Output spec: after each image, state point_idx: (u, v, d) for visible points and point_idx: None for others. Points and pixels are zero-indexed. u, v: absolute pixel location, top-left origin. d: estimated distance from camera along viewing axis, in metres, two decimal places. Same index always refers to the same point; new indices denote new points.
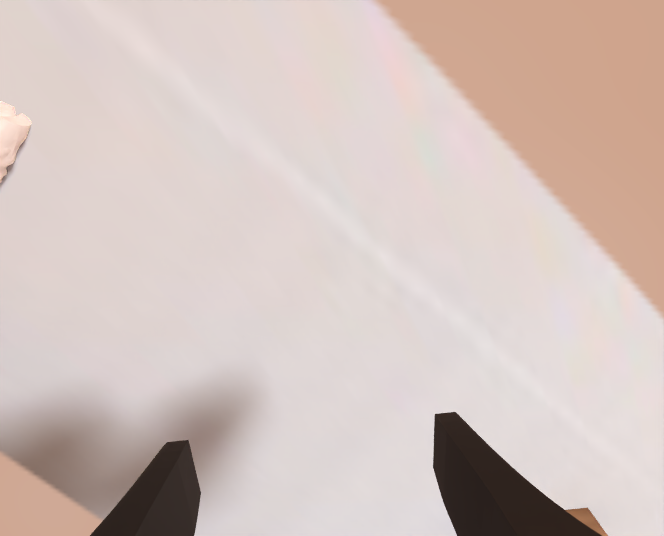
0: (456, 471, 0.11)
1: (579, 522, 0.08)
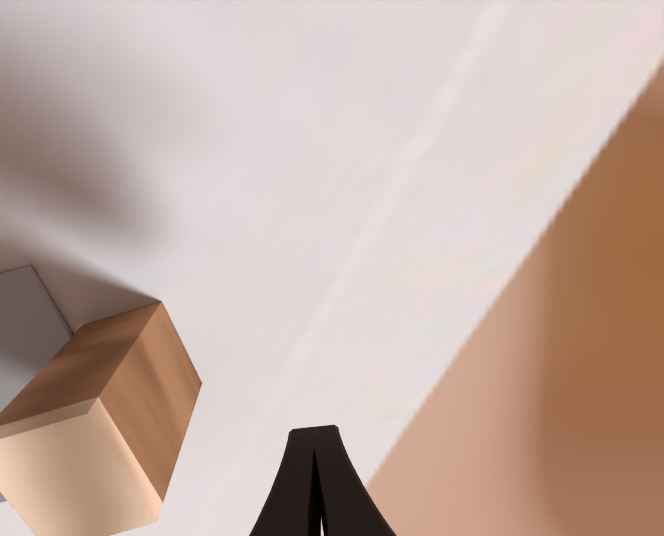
0: (319, 486, 0.11)
1: None
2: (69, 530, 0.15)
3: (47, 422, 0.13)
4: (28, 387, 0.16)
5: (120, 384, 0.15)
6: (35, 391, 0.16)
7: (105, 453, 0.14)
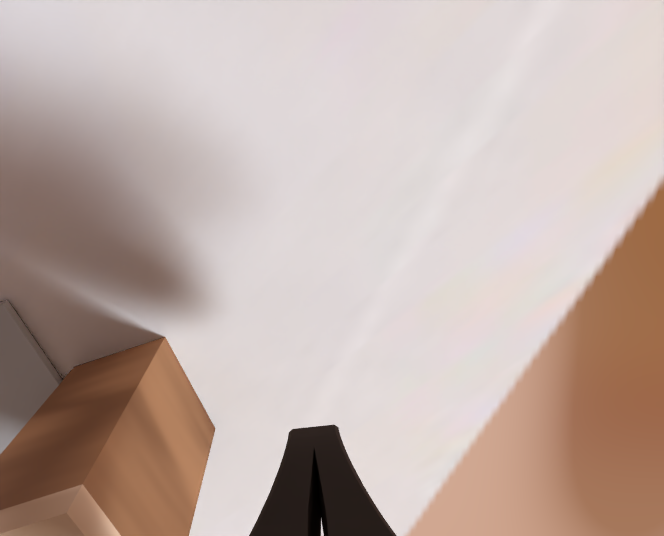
0: (319, 486, 0.11)
1: None
2: None
3: (15, 524, 0.10)
4: (0, 459, 0.13)
5: (113, 457, 0.12)
6: (7, 467, 0.12)
7: None
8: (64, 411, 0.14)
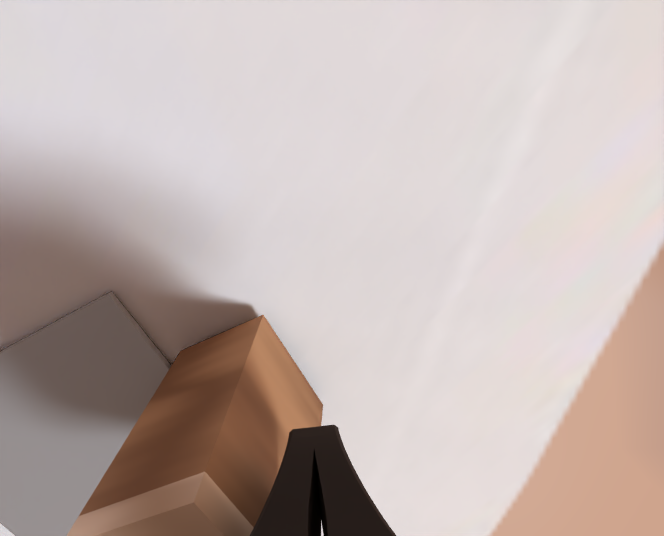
0: (319, 486, 0.11)
1: None
2: None
3: (147, 513, 0.10)
4: (126, 445, 0.13)
5: (230, 442, 0.12)
6: (133, 452, 0.12)
7: None
8: (177, 395, 0.14)
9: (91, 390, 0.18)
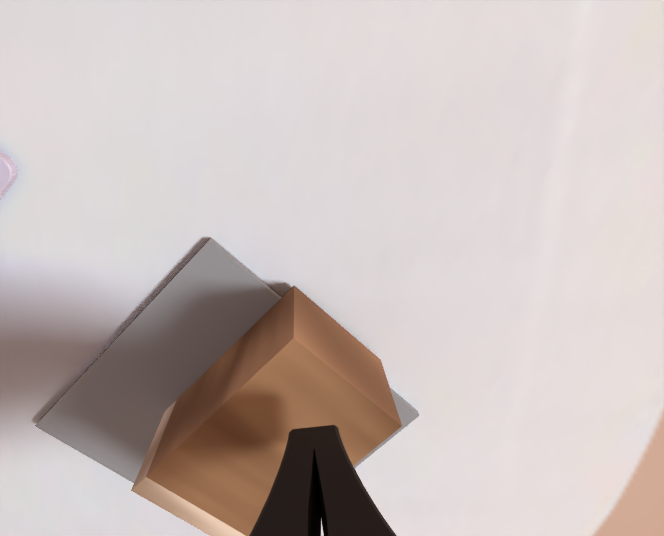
0: (319, 486, 0.11)
1: None
2: None
3: (146, 456, 0.16)
4: (210, 369, 0.17)
5: (182, 461, 0.14)
6: (199, 385, 0.17)
7: None
8: (232, 359, 0.16)
9: (218, 346, 0.17)
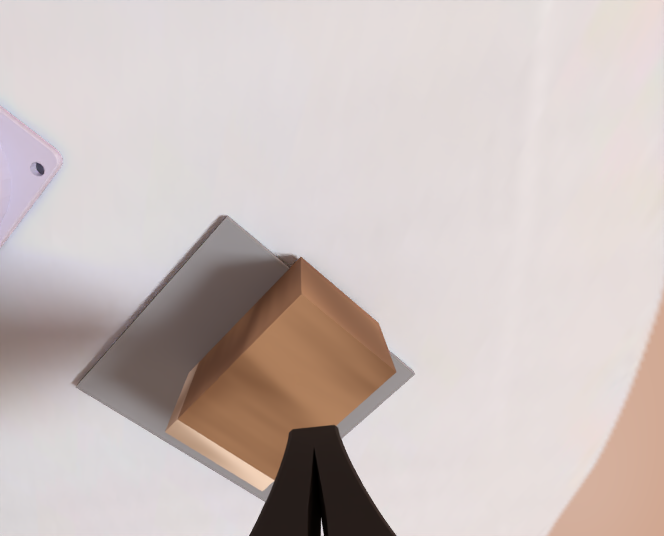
0: (319, 486, 0.11)
1: None
2: None
3: (176, 406, 0.18)
4: (228, 333, 0.20)
5: (208, 405, 0.17)
6: (219, 346, 0.19)
7: None
8: (248, 321, 0.18)
9: (235, 313, 0.20)
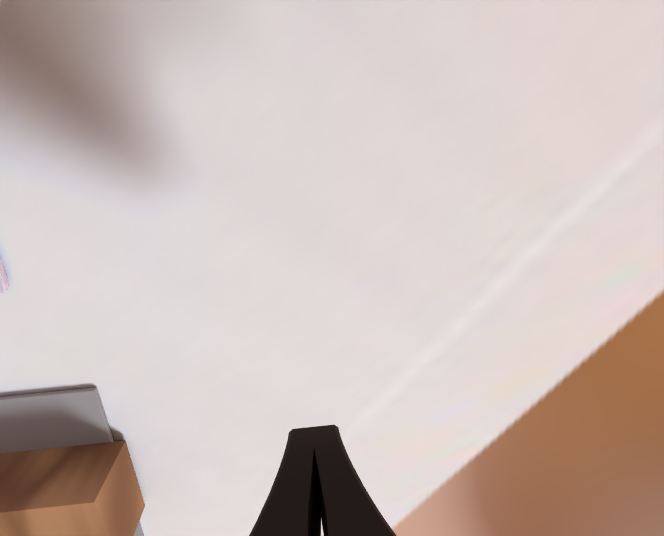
0: (319, 486, 0.11)
1: None
2: None
3: None
4: (32, 452, 0.24)
5: None
6: (16, 462, 0.23)
7: None
8: (51, 466, 0.23)
9: (49, 443, 0.24)
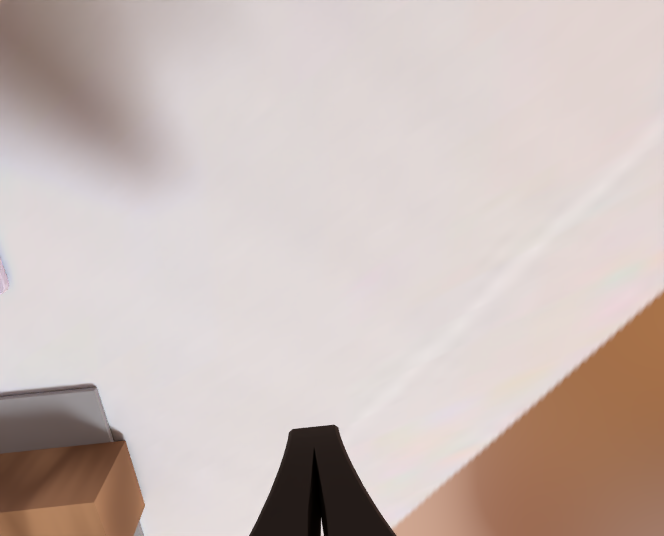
0: (319, 486, 0.11)
1: None
2: None
3: None
4: (32, 452, 0.24)
5: None
6: (16, 462, 0.23)
7: None
8: (51, 466, 0.23)
9: (49, 443, 0.24)
